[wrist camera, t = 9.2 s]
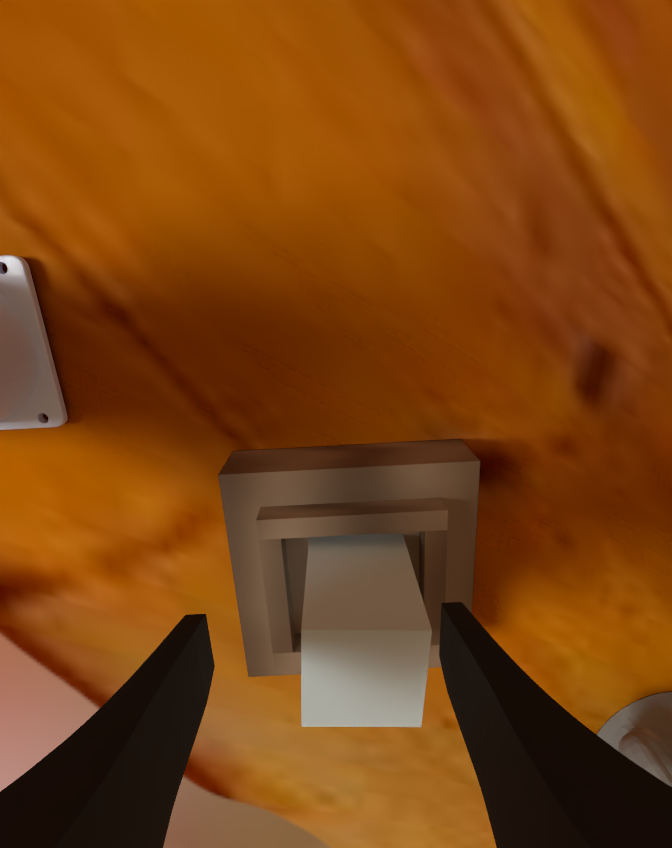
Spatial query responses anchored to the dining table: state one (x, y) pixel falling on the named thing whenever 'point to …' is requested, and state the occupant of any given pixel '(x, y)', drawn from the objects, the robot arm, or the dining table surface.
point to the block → (363, 634)
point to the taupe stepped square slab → (344, 529)
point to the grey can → (644, 734)
